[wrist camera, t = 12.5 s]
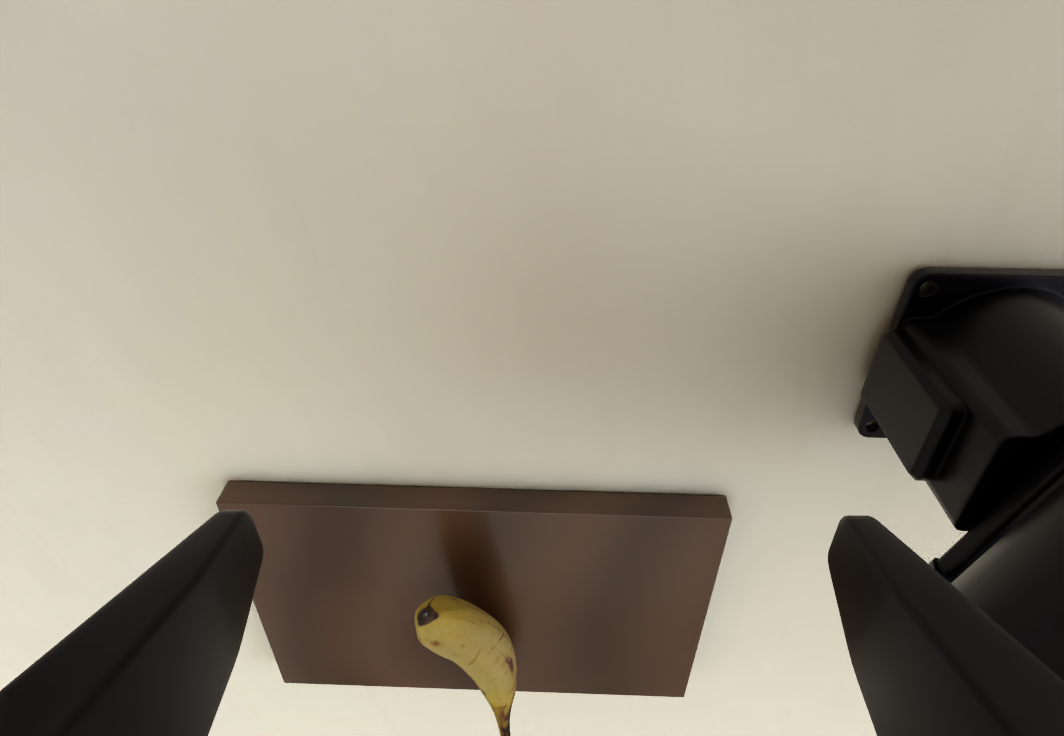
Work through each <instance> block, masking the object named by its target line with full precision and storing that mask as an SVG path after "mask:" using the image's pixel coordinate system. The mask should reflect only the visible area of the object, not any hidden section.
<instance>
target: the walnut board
mask: <svg viewBox="0 0 1064 736" xmlns="http://www.w3.org/2000/svg"><path fill="white" fill-rule="evenodd" d="M216 504H217V506H218V509H219V511H222V510H246V511H248V512H249V513H250V514H251V516H252V518H253V520H254V523H255V526H256V528H257V531H258V533H259V536H260V539H261V541H262V544H263V560H262V564H261V568H260V572H259V576H258V580H257V584H256V588H255V591H254V595H253V601H254V604H255V606H256V609H257V612H258V614H259V617H260V620H261V622H262V625H263V627H264V630H265V633H266V635H267V638H268V641H269V643H270V646H271V649H272V651H273V654H274V656H275V659H276V662H277V664H278V667H279V670H280V672H281V675H282V678H283V680H284V682H285V683H307V684H335V685H362V686H390V687H418V688H446V689H473V690H480V689H479V687H478V685H477V684H476V683H475V681H474V680H473V679H472V678H471V677H470V676H469V675H468V674H467V673H466V672H465V671H464V670H463V669H462V668H461V667H460V666H459V665H457V664H456V663H455V662H453V661H452V660H450V659H447V658H444V657H442V656H440V655H438V654H436V653H434V652H432V651H431V650H430V649H428V648H426V647H425V646H424V645H422V644H421V643H420V641H419V640H418V637H417V632H416V627H415V612H416V609H417V608H418V607H419V606H420V605H421V604H422V603H424V602H425V601H427V600H428V599H430V598H432V597H434V596H438V595H447V596H453V597H456V598H459V599H462V600H464V601H468V602H469V603H471V604H473V605H475V606H477V607H478V608H480V609H482V610H483V611H485V612H486V613H488V614H489V615H491V616H492V617H493V618H494V619H496V620H497V621H498V622H499V623H500V624H501V625H502V626H503V628H504V629H505V631H506V632H507V634H508V636H509V638H510V640H511V642H512V645H513V649H514V652H515V657H516V666H517V672H516V691H529V692H557V693H584V694H612V695H640V696H668V697H684V694H685V690H686V687H687V683H688V679H689V676H690V672H691V668H692V665H693V661H694V657H695V654H696V650H697V646H698V642H699V639H700V635H701V631H702V628H703V624H704V620H705V617H706V613H707V609H708V606H709V602H710V598H711V595H712V591H713V587H714V583H715V580H716V576H717V572H718V569H719V565H720V561H721V558H722V554H723V550H724V547H725V543H726V539H727V535H728V532H729V528H730V524H731V521H732V516H731V512H730V509H729V505H728V502H727V498H726V496H707V495H674V494H641V493H608V492H574V491H541V490H508V489H475V488H442V487H409V486H376V485H343V484H310V483H277V482H244V481H228V482H227V484H226V486H225V487H224V489H223V491H222V493H221V495H220V496H219V498H218V500H217V502H216Z"/></svg>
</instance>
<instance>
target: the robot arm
mask: <svg viewBox="0 0 1064 736" xmlns="http://www.w3.org/2000/svg"><path fill="white" fill-rule="evenodd" d="M927 281H932V282H931V284H930V285H929V286H928V287H926V288H925V289H920V288H921V286H922V285H923V284H924V283H926V282H927ZM861 396H862V401H861V403H860V406H859V409H858V411H857V414H856V416H855V420H854V424H855V426H856V428H857V429H858V431H859V433H860V434H861V435H862V436H865V437H877V438H887V439H888V440H889V442H890V444H891V445H892V447H893V449H894V450H895V452H896V453H897V455H898V457H899V458H900V460H901V462H902V463H903V465H904V467H905V468H906V470H907V471H908V473H909V474H910V475H911V476H912V477H913V478H914V479H915V480H924V481H926V482H927V484H928V486H929V487H930V489H931V490H932V492H933V493H934V495H935V497H936V498H937V500H938V501H939V503H940V505H941V506H942V508H943V509H944V511H945V513H946V514H947V516H948V517H949V519H950V520H951V522H952V524H953V525H954V527H955V528H956V529H957V530H961V531H968V532H967V533H966V534H965V535H964V536H963V537H962V538H961V539H960V540H959V541H958V542H957V543H955V544H954V545H953V546H952V547H951V548H950V549H949V550H948V551H947V552H946V553H945V554H944V555H943V556H942V557H941V558H940V559H939V558H934V559H933V560H932V561H931V562H930V563H929V564H928V563H926V562H925V561H924V560H923V559H922V558H921V557H919V556H918V555H917V554H916V553H915V552H914V551H912V550H911V549H910V548H909V547H908V546H907V545H905V544H904V543H903V542H902V541H901V540H900V539H898V538H897V537H896V536H895V535H894V534H893V533H891V532H890V531H889V530H888V529H887V528H886V527H884V526H883V525H882V524H881V523H880V522H879V521H877V520H876V519H874V518H873V517H870V516H844V517H843V518H842V519H841V520H840V522H839V524H838V527H837V530H836V532H835V535H834V538H833V541H832V543H831V546H830V549H829V553H828V564H829V570H830V574H831V578H832V582H833V587H834V591H835V595H836V599H837V604H838V608H839V612H840V616H841V621H842V625H843V629H844V633H845V638H846V642H847V646H848V650H849V654H850V658H851V661H852V665H853V668H854V671H855V674H856V677H857V680H858V683H859V686H860V689H861V691H862V694H863V697H864V700H865V703H866V706H867V708H868V711H869V714H870V717H871V720H872V722H873V725H874V728H875V731H876V734H877V736H1064V270H1022V269H979V268H937V267H927V268H922V269H919V270H917V271H915V272H914V273H913V274H912V275H911V276H910V277H909V279H908V280H907V282H906V285H905V287H904V290H903V293H902V295H901V298H900V300H899V303H898V306H897V308H896V311H895V314H894V316H893V319H892V322H891V324H890V327H889V329H888V331H887V332H886V333H885V334H884V335H883V336H882V338H881V341H880V344H879V346H878V349H877V352H876V354H875V357H874V360H873V362H872V365H871V368H870V370H869V373H868V376H867V378H866V381H865V384H864V386H863V389H862V392H861ZM871 421H875V422H873V423H872V424H868V423H870V422H871ZM867 424H868V425H867ZM262 560H263V544H262V541H261V539H260V536H259V533H258V531H257V528H256V526H255V523H254V520H253V518H252V516H251V514H250V513H249V512H248V511H246V510H222V511H220V512H218V513H216V514H215V515H214V516H212V517H211V518H210V519H209V520H208V521H206V522H205V523H204V524H203V525H201V526H200V527H199V528H198V529H197V530H195V531H194V532H193V533H192V534H191V535H189V536H188V537H187V538H186V539H184V540H183V541H182V542H181V543H180V544H178V545H177V546H176V547H175V548H173V549H172V550H171V551H170V552H169V553H167V554H166V555H165V556H164V557H163V558H161V559H160V560H159V561H158V562H156V563H155V564H154V565H153V566H152V567H150V568H149V569H148V570H147V571H145V572H144V573H143V574H142V575H141V576H139V577H138V578H137V579H136V580H135V581H133V582H132V583H131V584H130V585H128V586H127V587H126V588H125V589H124V590H122V591H121V592H120V593H119V594H118V595H116V596H115V597H114V598H113V599H111V600H110V601H109V602H108V603H107V604H105V605H104V606H103V607H102V608H100V609H99V610H98V611H97V612H96V613H94V614H93V615H92V616H91V617H90V618H88V619H87V620H86V621H85V622H83V623H82V624H81V625H80V626H79V627H77V628H76V629H75V630H74V631H72V632H71V633H70V634H69V635H68V636H66V637H65V638H64V639H63V640H62V641H60V642H59V643H58V644H57V645H55V646H54V647H53V648H52V649H51V650H49V651H48V652H47V653H46V654H45V655H43V656H42V657H41V658H40V659H38V660H37V661H36V662H35V663H34V664H32V665H31V666H30V667H29V668H27V669H26V670H25V671H24V672H23V673H21V674H20V675H19V676H18V677H17V678H15V679H14V680H13V681H12V682H10V683H9V684H8V685H7V686H6V687H4V688H3V689H2V690H1V691H0V736H208V734H209V731H210V728H211V726H212V723H213V720H214V718H215V715H216V712H217V710H218V707H219V704H220V702H221V699H222V696H223V694H224V691H225V688H226V686H227V683H228V680H229V678H230V675H231V672H232V670H233V667H234V664H235V661H236V658H237V655H238V652H239V649H240V645H241V642H242V638H243V634H244V631H245V627H246V623H247V619H248V615H249V611H250V607H251V603H252V599H253V595H254V591H255V588H256V584H257V580H258V576H259V572H260V568H261V564H262Z"/></svg>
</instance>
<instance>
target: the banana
mask: <svg viewBox="0 0 1064 736" xmlns="http://www.w3.org/2000/svg"><path fill="white" fill-rule="evenodd" d="M415 627H416V632H417V637H418V640H419V641H420V643H421V644H422V645H424V646H425V647H426V648H428V649H430V650H431V651H432V652H434V653H436V654H438V655H440V656H442V657H444V658H447V659H450V660H452V661H453V662H455V663H456V664H457V665H459V666H460V667H461V668H462V669H463V670H464V671H465V672H466V673H467V674H468V675H469V676H470V677H471V678H472V679H473V680H474V681H475V683H476V684H477V685H478V687H479V689H480V690H481V692H482V693H483V695H484V696H485V698H486V699H487V701H488V702H489V704H490V705H491V707H492V709H493V712H494V714H495V717H496V720H497V723H498V727H499V730H500V735H501V736H510V723H509V722H510V712H511V707H512V703H513V699H514V695H515V691H516V672H517V666H516V657H515V652H514V649H513V645H512V642H511V640H510V638H509V636H508V634H507V632H506V631H505V629H504V628H503V626H502V625H501V624H500V623H499V622H498V621H497V620H496V619H494V618H493V617H492V616H491V615H489V614H488V613H486V612H485V611H483V610H482V609H480V608H478V607H477V606H475V605H473V604H471V603H469V602H468V601H464V600H462V599H459V598H456V597H453V596H447V595H438V596H434V597H432V598H430V599H428V600H427V601H425V602H424V603H422V604H421V605H420V606H419V607H418V608H417V609H416V612H415Z"/></svg>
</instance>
